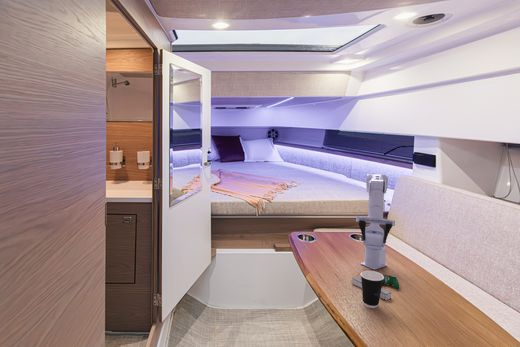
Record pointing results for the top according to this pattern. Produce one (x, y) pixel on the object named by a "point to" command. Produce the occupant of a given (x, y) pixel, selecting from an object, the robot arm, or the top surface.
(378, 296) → the dixie cup
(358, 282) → the bar
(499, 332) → the top surface
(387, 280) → the gaming controller
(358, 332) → the top surface
